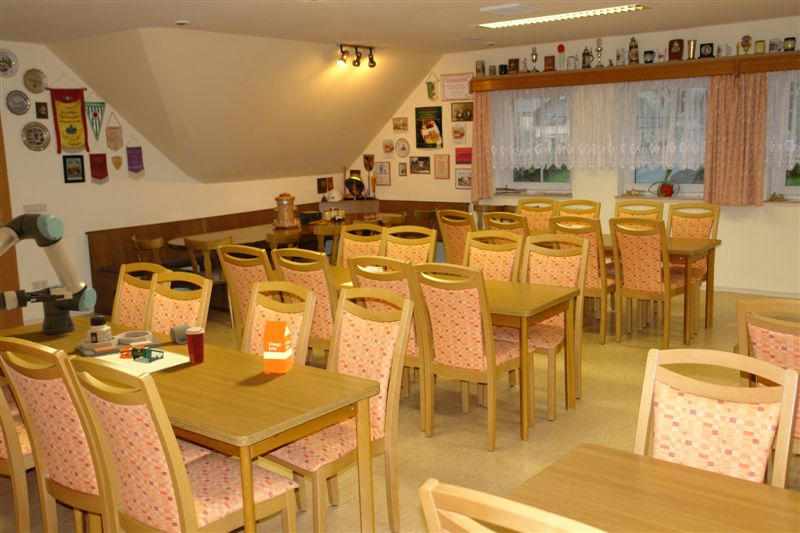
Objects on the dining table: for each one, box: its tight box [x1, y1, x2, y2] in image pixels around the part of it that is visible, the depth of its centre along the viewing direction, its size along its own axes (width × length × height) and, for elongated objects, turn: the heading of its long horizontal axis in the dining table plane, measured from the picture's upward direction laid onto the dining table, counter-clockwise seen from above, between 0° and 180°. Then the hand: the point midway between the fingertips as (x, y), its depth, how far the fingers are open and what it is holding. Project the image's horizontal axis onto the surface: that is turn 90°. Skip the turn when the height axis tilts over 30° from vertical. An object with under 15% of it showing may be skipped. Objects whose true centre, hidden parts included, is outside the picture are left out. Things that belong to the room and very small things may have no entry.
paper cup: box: [185, 326, 206, 365], centre depth 317 cm, size 8×8×14 cm
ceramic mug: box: [169, 323, 191, 345], centre depth 352 cm, size 11×8×8 cm
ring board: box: [76, 330, 163, 358], centre depth 347 cm, size 22×32×4 cm
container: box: [86, 315, 112, 343], centre depth 344 cm, size 8×8×13 cm
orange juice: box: [262, 320, 293, 373], centre depth 301 cm, size 8×9×20 cm
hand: (69, 292), depth 340 cm, fingers open, 13 cm apart
